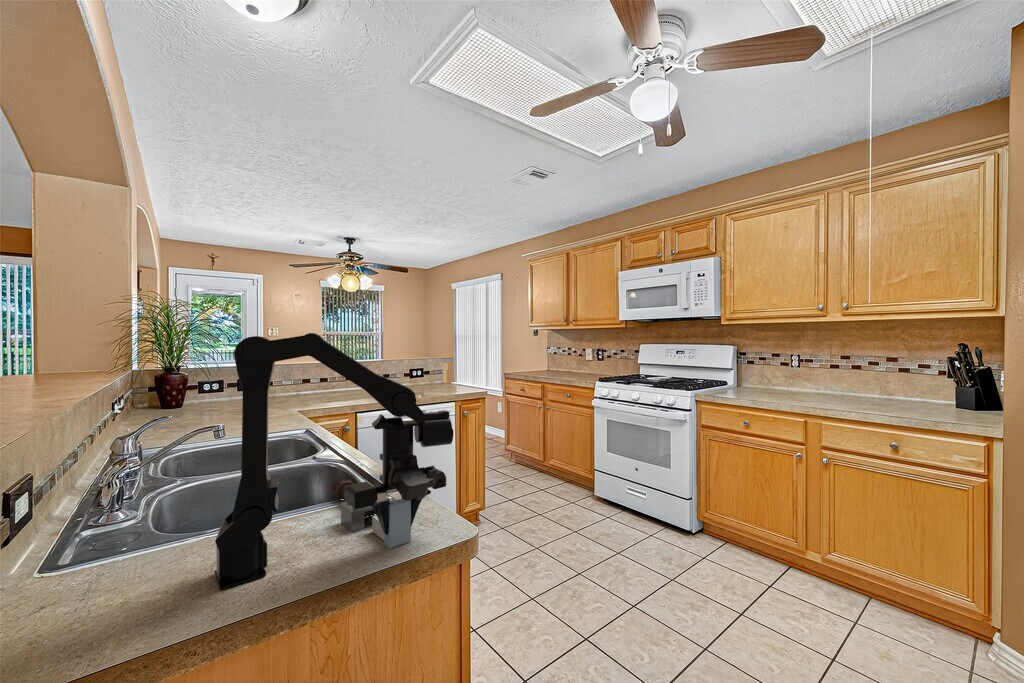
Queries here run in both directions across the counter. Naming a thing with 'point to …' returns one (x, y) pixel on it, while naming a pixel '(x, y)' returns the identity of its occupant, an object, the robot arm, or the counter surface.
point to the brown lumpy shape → (341, 488)
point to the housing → (357, 515)
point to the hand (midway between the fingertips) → (397, 530)
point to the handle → (395, 524)
